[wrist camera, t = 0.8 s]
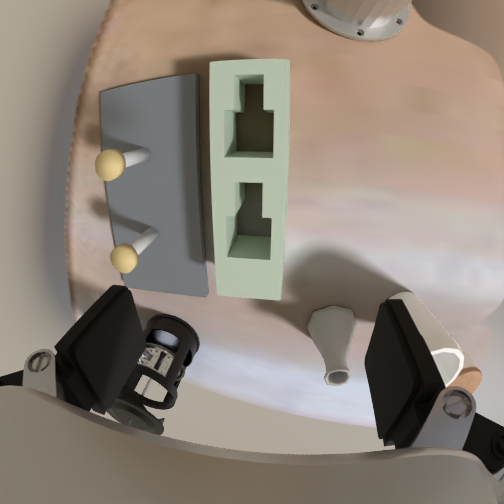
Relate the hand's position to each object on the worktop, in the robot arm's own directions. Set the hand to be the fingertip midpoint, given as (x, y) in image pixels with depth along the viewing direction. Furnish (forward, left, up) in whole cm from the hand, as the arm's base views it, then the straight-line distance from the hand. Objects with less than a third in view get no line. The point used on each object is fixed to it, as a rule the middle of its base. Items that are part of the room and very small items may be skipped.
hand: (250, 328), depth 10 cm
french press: (+25, -17, -24) cm, 38 cm away
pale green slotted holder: (-1, -3, -23) cm, 23 cm away
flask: (+19, +8, -24) cm, 31 cm away
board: (+1, -16, -23) cm, 28 cm away
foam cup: (+16, +18, -24) cm, 34 cm away
